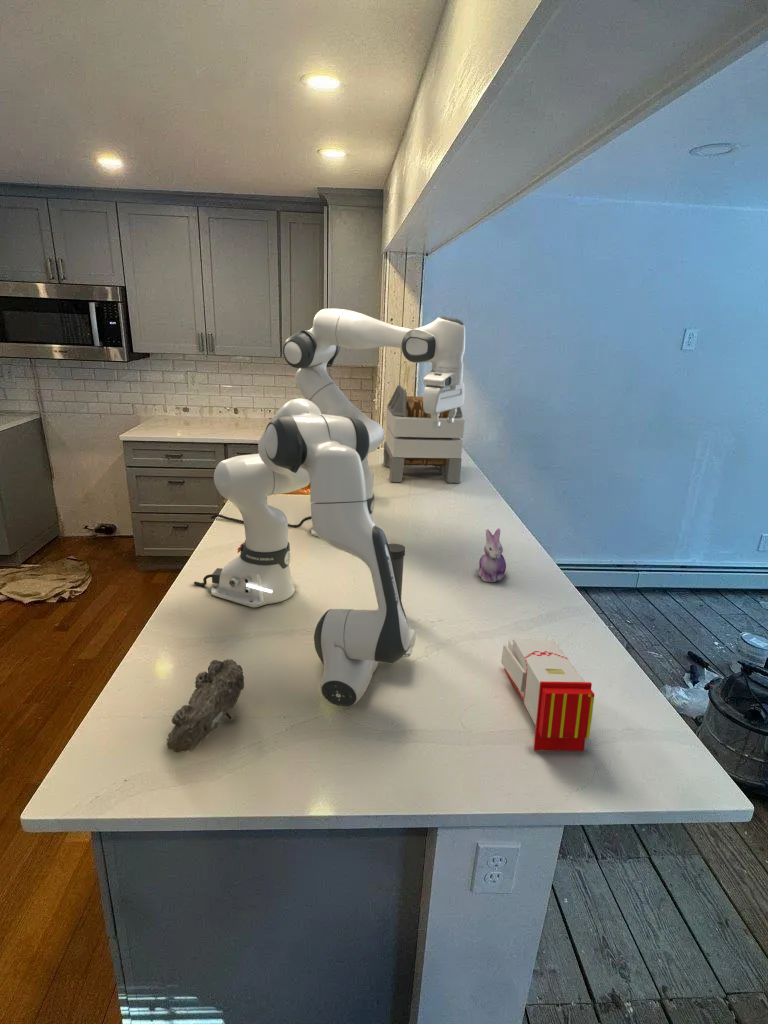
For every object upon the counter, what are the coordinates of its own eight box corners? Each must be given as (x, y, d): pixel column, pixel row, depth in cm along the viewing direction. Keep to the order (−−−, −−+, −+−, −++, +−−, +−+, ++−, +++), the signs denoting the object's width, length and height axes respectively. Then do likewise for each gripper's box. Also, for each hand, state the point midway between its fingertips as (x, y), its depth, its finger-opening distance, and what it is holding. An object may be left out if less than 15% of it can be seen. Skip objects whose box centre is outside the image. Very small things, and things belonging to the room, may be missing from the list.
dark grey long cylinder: (378, 610, 149) (381, 547, 143) (393, 606, 151) (397, 544, 145) (388, 618, 145) (392, 554, 139) (403, 613, 148) (407, 550, 142)
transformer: (382, 463, 289) (386, 382, 275) (445, 464, 293) (451, 384, 279) (390, 482, 257) (394, 392, 243) (460, 483, 261) (468, 394, 247)
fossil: (192, 660, 117) (244, 628, 112) (224, 691, 120) (276, 661, 115) (142, 746, 98) (202, 712, 93) (182, 779, 101) (242, 748, 96)
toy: (549, 621, 128) (604, 690, 99) (544, 676, 131) (595, 758, 101) (496, 620, 128) (535, 688, 98) (492, 675, 130) (528, 757, 101)
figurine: (489, 586, 164) (495, 538, 159) (468, 571, 173) (473, 526, 168) (514, 580, 169) (521, 533, 163) (493, 566, 177) (498, 521, 172)
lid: (379, 552, 143) (380, 545, 143) (397, 548, 146) (397, 542, 145) (391, 560, 139) (392, 553, 139) (409, 556, 142) (409, 549, 141)
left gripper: (410, 646, 118) (422, 613, 131) (318, 629, 123) (338, 599, 136) (408, 671, 121) (420, 637, 133) (317, 653, 125) (338, 622, 138)
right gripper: (452, 373, 171) (448, 419, 176) (420, 378, 155) (417, 429, 159) (471, 375, 168) (467, 421, 173) (441, 381, 152) (437, 432, 156)
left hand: (378, 618), depth 134 cm, fingers open, 8 cm apart
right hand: (443, 425), depth 166 cm, fingers open, 8 cm apart
